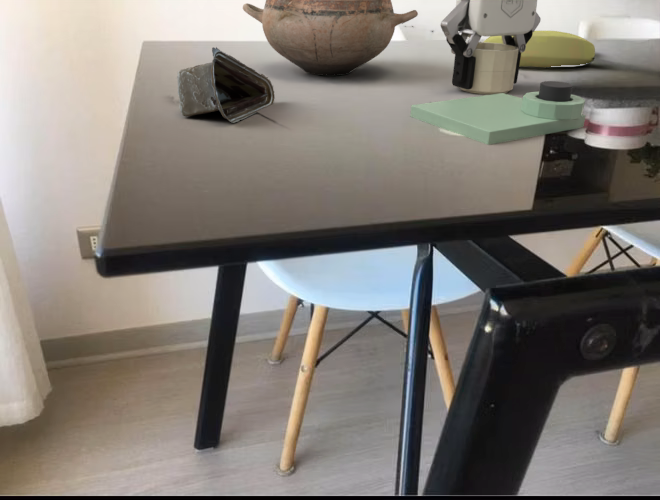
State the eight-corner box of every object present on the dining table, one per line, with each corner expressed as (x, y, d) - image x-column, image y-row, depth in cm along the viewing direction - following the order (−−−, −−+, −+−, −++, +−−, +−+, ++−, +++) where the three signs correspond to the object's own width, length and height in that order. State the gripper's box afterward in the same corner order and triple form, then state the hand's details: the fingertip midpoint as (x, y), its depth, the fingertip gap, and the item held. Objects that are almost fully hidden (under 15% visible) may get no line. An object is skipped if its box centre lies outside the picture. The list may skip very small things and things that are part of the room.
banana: (592, 23, 91) (456, 30, 100) (588, 63, 92) (454, 67, 101) (597, 38, 103) (475, 44, 112) (593, 73, 104) (473, 76, 113)
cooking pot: (415, 64, 99) (422, -20, 94) (410, 89, 83) (417, -12, 77) (261, 56, 103) (259, -25, 97) (226, 79, 86) (221, -19, 81)
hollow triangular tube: (228, 98, 77) (164, 33, 67) (277, 87, 74) (219, 17, 64) (215, 166, 73) (146, 108, 64) (267, 157, 70) (203, 95, 61)
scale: (504, 104, 76) (507, 78, 75) (591, 128, 67) (597, 100, 66) (409, 117, 69) (412, 90, 68) (492, 147, 60) (496, 116, 59)
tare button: (551, 96, 69) (554, 80, 68) (575, 102, 66) (579, 85, 65) (531, 99, 67) (534, 82, 66) (555, 105, 65) (558, 88, 64)
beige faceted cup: (484, 82, 88) (489, 41, 85) (523, 93, 82) (530, 48, 80) (445, 87, 84) (449, 44, 82) (483, 98, 79) (489, 52, 76)
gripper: (472, -68, 68) (454, 96, 76) (578, -64, 77) (551, 84, 84) (427, -68, 74) (414, 85, 82) (530, -64, 82) (510, 74, 90)
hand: (484, 83), depth 83 cm, fingers closed on beige faceted cup, 7 cm apart
